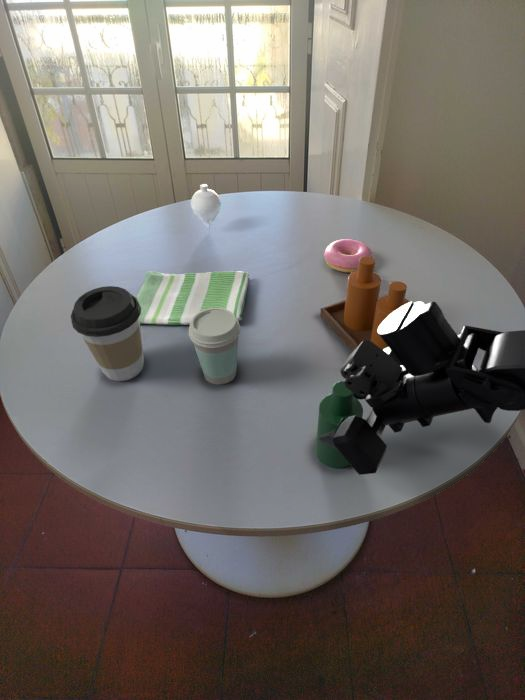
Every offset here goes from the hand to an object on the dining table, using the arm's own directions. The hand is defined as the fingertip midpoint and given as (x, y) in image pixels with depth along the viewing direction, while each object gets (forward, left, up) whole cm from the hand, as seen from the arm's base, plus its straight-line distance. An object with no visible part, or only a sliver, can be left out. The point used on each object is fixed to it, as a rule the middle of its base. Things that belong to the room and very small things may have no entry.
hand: (334, 416), depth 66 cm
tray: (+5, -25, -8) cm, 27 cm away
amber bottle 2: (+5, -25, -7) cm, 26 cm away
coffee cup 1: (+40, +9, -8) cm, 41 cm away
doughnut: (+27, -46, -8) cm, 54 cm away
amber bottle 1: (+13, -29, -7) cm, 32 cm away
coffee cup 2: (+25, -1, -8) cm, 26 cm away
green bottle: (-1, 0, -8) cm, 8 cm away
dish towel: (+45, -13, -8) cm, 47 cm away
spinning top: (+65, -38, -8) cm, 76 cm away
